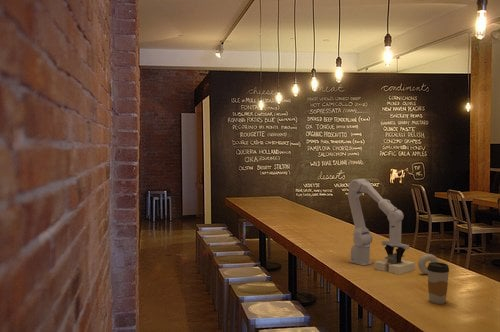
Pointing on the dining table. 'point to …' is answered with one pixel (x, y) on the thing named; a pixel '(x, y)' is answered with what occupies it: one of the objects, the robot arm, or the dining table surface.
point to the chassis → (395, 266)
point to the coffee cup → (437, 282)
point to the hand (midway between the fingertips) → (394, 261)
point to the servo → (392, 258)
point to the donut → (423, 260)
